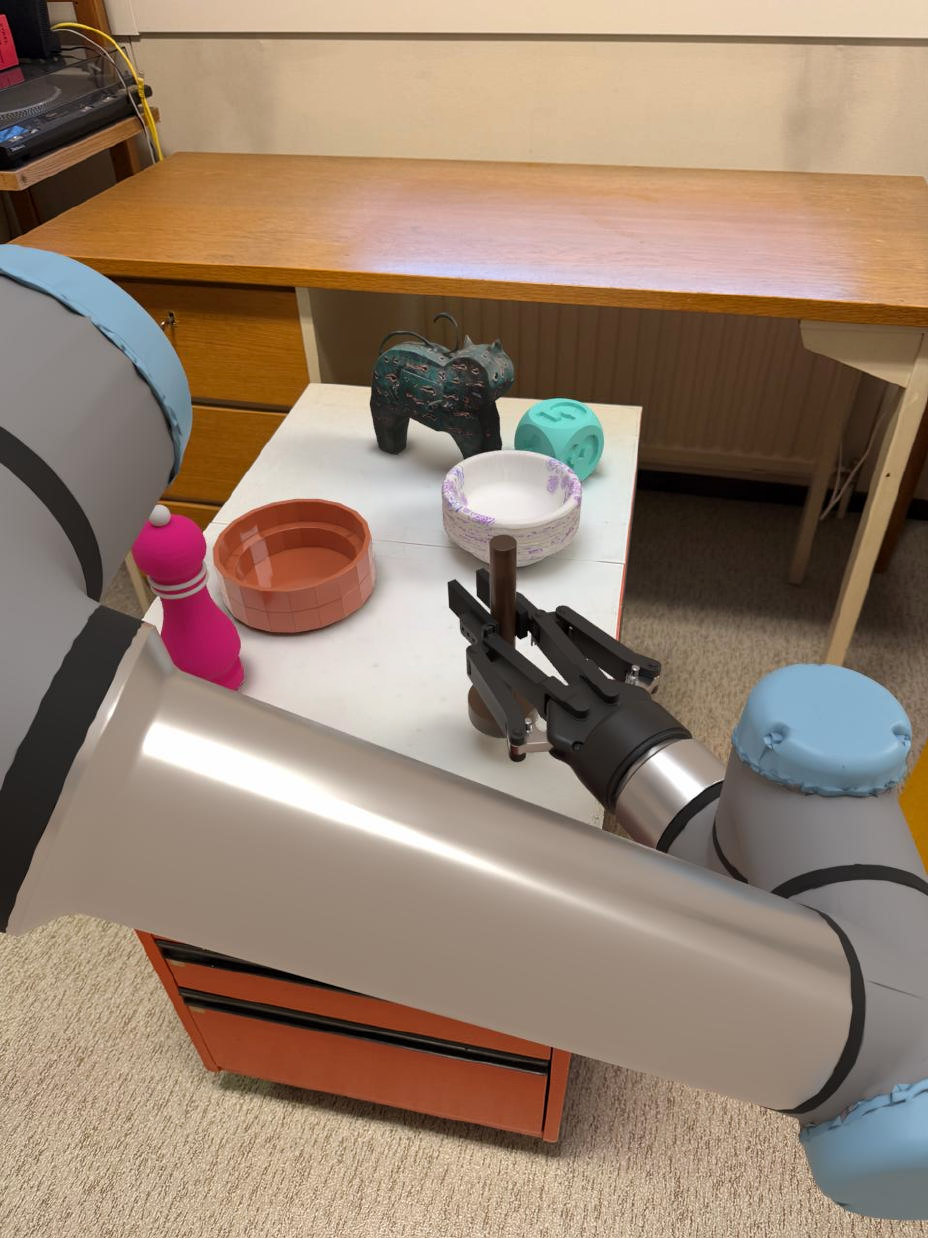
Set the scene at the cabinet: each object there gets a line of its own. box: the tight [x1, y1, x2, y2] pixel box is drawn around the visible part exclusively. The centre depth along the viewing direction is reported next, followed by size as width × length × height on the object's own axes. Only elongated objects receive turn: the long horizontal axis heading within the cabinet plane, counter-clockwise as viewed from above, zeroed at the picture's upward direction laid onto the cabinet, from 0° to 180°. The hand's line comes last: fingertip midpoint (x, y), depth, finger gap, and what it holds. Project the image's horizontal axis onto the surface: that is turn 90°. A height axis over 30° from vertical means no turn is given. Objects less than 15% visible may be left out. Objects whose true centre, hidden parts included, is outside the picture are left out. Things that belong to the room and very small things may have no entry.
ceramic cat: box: [369, 312, 515, 461], centre depth 107 cm, size 20×6×20 cm, turn 54°
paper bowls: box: [441, 449, 583, 568], centre depth 97 cm, size 15×15×8 cm
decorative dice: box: [513, 397, 605, 482], centre depth 109 cm, size 8×8×8 cm
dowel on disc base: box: [467, 535, 539, 740], centre depth 70 cm, size 6×6×18 cm
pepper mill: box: [131, 504, 245, 692], centre depth 78 cm, size 7×7×20 cm
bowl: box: [212, 498, 377, 633], centre depth 93 cm, size 16×16×6 cm
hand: (466, 587), depth 73 cm, fingers closed on dowel on disc base, 2 cm apart
